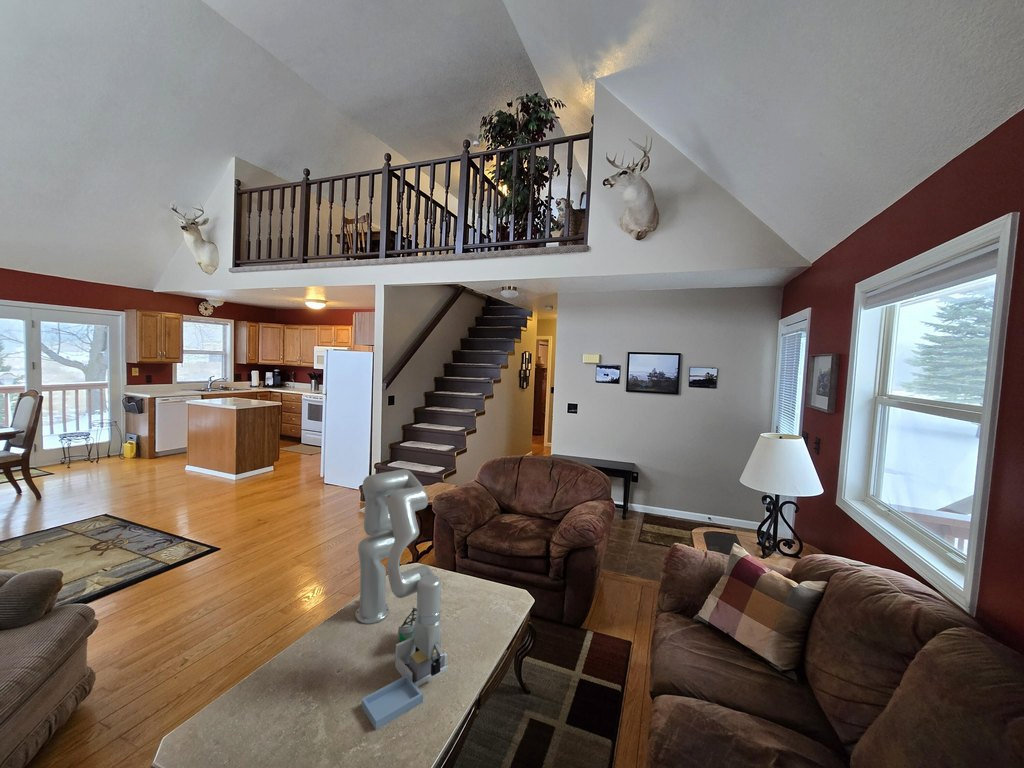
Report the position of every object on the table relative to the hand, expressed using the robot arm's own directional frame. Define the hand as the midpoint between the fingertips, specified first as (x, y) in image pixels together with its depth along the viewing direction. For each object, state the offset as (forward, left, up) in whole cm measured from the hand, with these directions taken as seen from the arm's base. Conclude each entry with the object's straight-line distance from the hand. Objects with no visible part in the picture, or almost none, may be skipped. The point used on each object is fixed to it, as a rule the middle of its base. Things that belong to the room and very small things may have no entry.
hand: (427, 664), depth 142 cm
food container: (-15, +3, -3) cm, 15 cm away
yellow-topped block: (-1, 0, -3) cm, 3 cm away
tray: (+4, -15, -3) cm, 15 cm away
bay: (-3, 0, -3) cm, 4 cm away
